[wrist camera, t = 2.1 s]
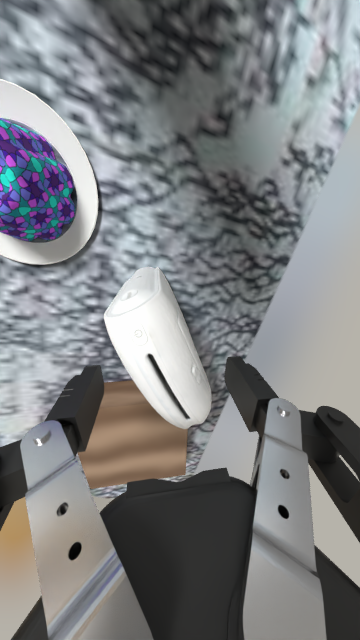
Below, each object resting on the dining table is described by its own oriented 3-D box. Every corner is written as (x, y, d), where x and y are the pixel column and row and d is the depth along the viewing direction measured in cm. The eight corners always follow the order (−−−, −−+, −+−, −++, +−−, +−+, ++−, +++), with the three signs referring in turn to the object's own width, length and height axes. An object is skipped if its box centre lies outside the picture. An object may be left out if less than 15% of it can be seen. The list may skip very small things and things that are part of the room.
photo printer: (120, 275, 19) (72, 332, 8) (159, 258, 18) (168, 291, 7) (161, 350, 23) (169, 456, 12) (193, 337, 23) (230, 433, 12)
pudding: (-56, 239, 16) (-145, 240, 11) (-85, 42, 12) (-252, -94, 7) (91, 278, 19) (70, 292, 14) (111, 133, 14) (90, 82, 10)
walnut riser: (77, 384, 23) (63, 411, 20) (184, 376, 25) (189, 399, 22) (97, 458, 30) (90, 488, 26) (181, 447, 32) (185, 474, 28)
